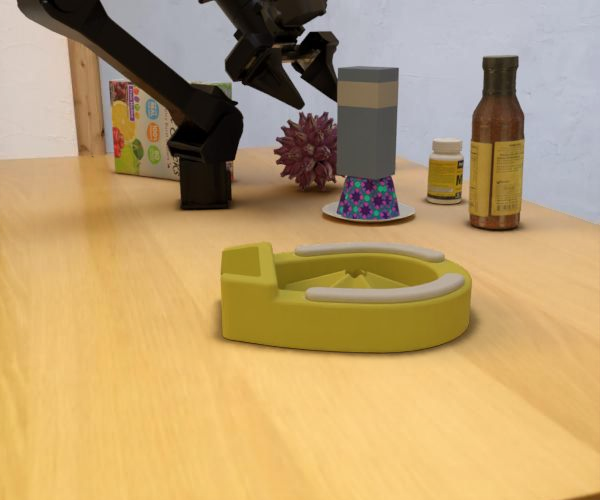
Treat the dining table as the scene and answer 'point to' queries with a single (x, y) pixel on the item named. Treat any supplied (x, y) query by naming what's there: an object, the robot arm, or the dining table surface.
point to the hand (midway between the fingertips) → (322, 104)
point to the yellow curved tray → (343, 296)
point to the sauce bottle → (497, 148)
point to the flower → (309, 150)
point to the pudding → (368, 201)
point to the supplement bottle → (445, 171)
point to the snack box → (145, 131)
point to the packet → (367, 121)
